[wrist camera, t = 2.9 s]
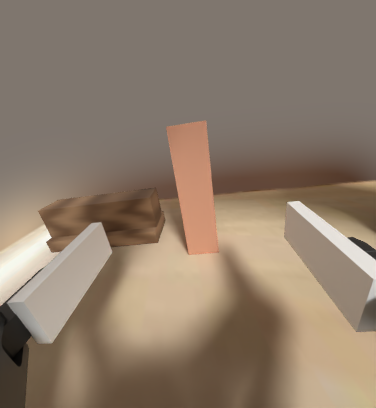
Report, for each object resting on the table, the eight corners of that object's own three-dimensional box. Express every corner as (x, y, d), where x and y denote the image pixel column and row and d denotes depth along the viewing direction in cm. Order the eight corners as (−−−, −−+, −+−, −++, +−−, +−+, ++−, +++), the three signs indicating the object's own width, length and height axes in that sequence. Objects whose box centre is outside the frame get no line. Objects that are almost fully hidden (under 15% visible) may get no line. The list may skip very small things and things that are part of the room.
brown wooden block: (165, 220, 35) (157, 185, 32) (157, 242, 28) (147, 200, 26) (77, 229, 37) (62, 197, 34) (51, 252, 30) (31, 214, 28)
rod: (216, 235, 28) (204, 120, 22) (218, 252, 24) (205, 120, 18) (190, 237, 28) (171, 126, 22) (188, 254, 25) (166, 126, 18)
